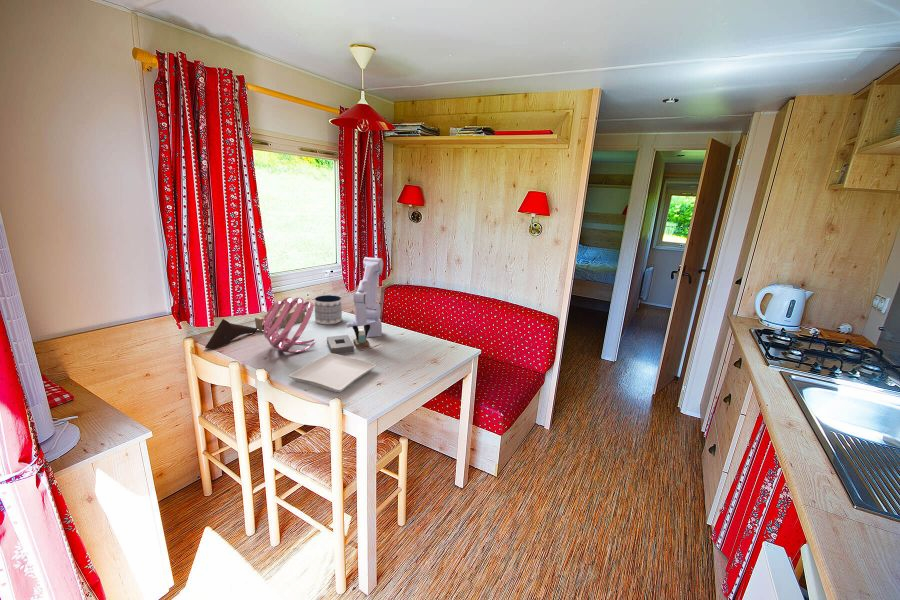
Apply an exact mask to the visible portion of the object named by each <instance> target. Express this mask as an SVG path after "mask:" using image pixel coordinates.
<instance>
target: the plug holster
mask: <svg viewBox="0 0 900 600" xmlns="http://www.w3.org/2000/svg"><path fill="white" fill-rule="evenodd" d="M352 340H353V341H352V343H353V345H354V348H356V349H364V348H365V349H366V348H370V342H369V340H368V339H367V338H366V342H364V343H358V342H357V339H356V338H353V339H352Z"/></svg>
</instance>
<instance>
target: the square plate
mask: <svg viewBox="0 0 900 600" xmlns="http://www.w3.org/2000/svg"><path fill="white" fill-rule="evenodd" d="M376 366H377V364H376V363H373V362H369V361H366V360H363V359H358V358H354V357H351V356H346V355H344V354H333V353H331V352H329V353H326V354H325V355H323V356H320V357H318V358H317V359H315V360H314V361H311V362H310V363H308V364H306V365H304V366H302V367H300V368H299V369H297V370H295V371H293V372H291V373H290V374H288V375H287V377H289V378H290V379H293V380H295V381H296V382H300V383H304V384H308V385H312V386H316V387H319V388H322V389H325V390H329V391H331V392H335V393H340V392H342V391H343V390H345V389H346V388H348V387H349V386H350V385H352V384H353V383H355V382H356V381H357V380H359V379H360V378H362V377H363V376H365V375H366V374H368V373H369V372H371V371H372V370H373V369H375V368H376Z"/></svg>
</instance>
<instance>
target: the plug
mask: <svg viewBox="0 0 900 600" xmlns="http://www.w3.org/2000/svg"><path fill="white" fill-rule="evenodd" d="M358 329H359V330H358V340H357V342H358V343H364V342H366V339H367V337H366V335H365V330H364V328H358Z"/></svg>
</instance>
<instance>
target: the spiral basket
mask: <svg viewBox="0 0 900 600" xmlns="http://www.w3.org/2000/svg"><path fill="white" fill-rule="evenodd" d="M294 307H296V308H295V311H294V313H293V315H292V317H291V318H290V320H289V322H288V324H287V325H286V326H285V327H283V330H282V331H281V333H280V334H279V330H280V329H281V328H280V327H281V325H282V323H283V321H284V320H285V318H286V317H287V315H288V314H289V312H290V311H291V309H292V308H294ZM306 308H307V312H305V317H304V319H303V321H302V322H300V325H299V327H298V329H297V330H296V332H295V334H294V335H293V336H292V337H291V338H288V337H289V334H290V333H291V330H292V329H293V326H294V325H295V324H296V323H295V322H296V320H297V319H298V317H299V316H300V314H301V313H302V312H303V311H304V310H305V309H306ZM280 311H282V312H281V313H280ZM313 311H314V303H312V301H309V300H307V301H305V302H304V299H303V298H302V297H300V296H299V297H298V296H297V297H296V298H294V299H293V297H290V296H288V297H285V298H284V299H283V300H282V301H281V300H280V299H279V300H277V301H275V302H274V303H273V304H272V305H271V306H270V307H269V309H268V311H267V312H266V314H264V315H265V316H264V319H263V323H262V327H263V329H264V331H263V336H264V338H265V339H266V340H267V341H268V342H269V345H270V346H271V347H272V348H275V349H277V350H278V351H280V352H282V353H287V354H298V353H302V352H305V351H308V350H310V348H312V347H313V346H314V345H315V343H316V341H315V339H310V340H299V338H300V337H301V335H302V334H303V333H304V331H305V329H306V327H307V325H308V324H309V321H310V319H311V318H312V314H313ZM278 313H280V315H279V317H278V318H277V320H276V322H275V323H274V325H273V326H272V327H271V328H270V326H271V324H272V322H273V320H274V319H275V317H276V315H277V314H278ZM269 314H270V315H269ZM268 316H269V317H268ZM294 323H295V324H294ZM312 342H313V343H312ZM309 343H311V344H310V345H309V346H307V347H305V348H303V349H300V350H291V349H292V348H293V347H294V345H305V344H309ZM285 344H286V345H285Z"/></svg>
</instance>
